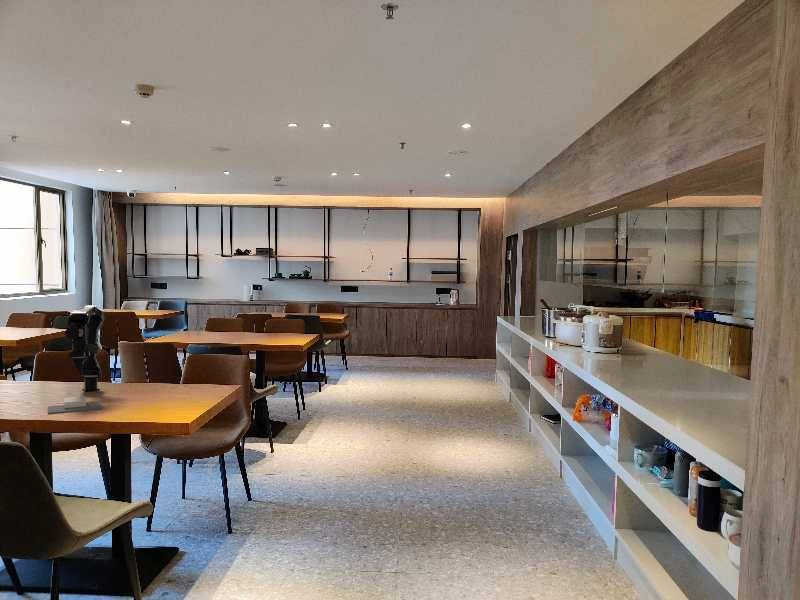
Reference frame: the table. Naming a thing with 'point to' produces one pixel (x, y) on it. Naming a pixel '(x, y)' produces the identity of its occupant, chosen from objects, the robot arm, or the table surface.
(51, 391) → the table surface
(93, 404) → the mat
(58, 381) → the table surface
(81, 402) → the glazed tile
